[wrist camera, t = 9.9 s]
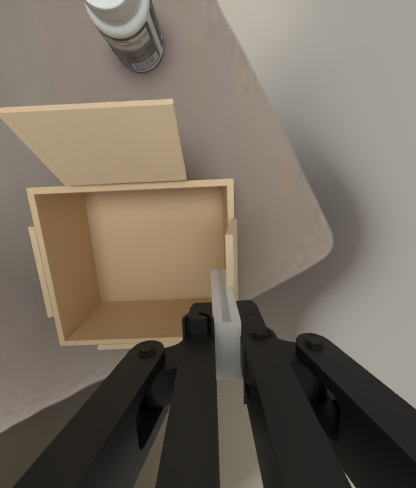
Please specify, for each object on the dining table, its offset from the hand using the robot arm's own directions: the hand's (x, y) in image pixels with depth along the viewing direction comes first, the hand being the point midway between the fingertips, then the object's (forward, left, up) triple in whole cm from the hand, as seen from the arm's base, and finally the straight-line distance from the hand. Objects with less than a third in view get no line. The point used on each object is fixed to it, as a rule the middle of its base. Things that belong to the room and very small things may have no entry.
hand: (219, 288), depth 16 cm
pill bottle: (-7, +20, -12) cm, 24 cm away
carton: (-7, 0, -12) cm, 14 cm away
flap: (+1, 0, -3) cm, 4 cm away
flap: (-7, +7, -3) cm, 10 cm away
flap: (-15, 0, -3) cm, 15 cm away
